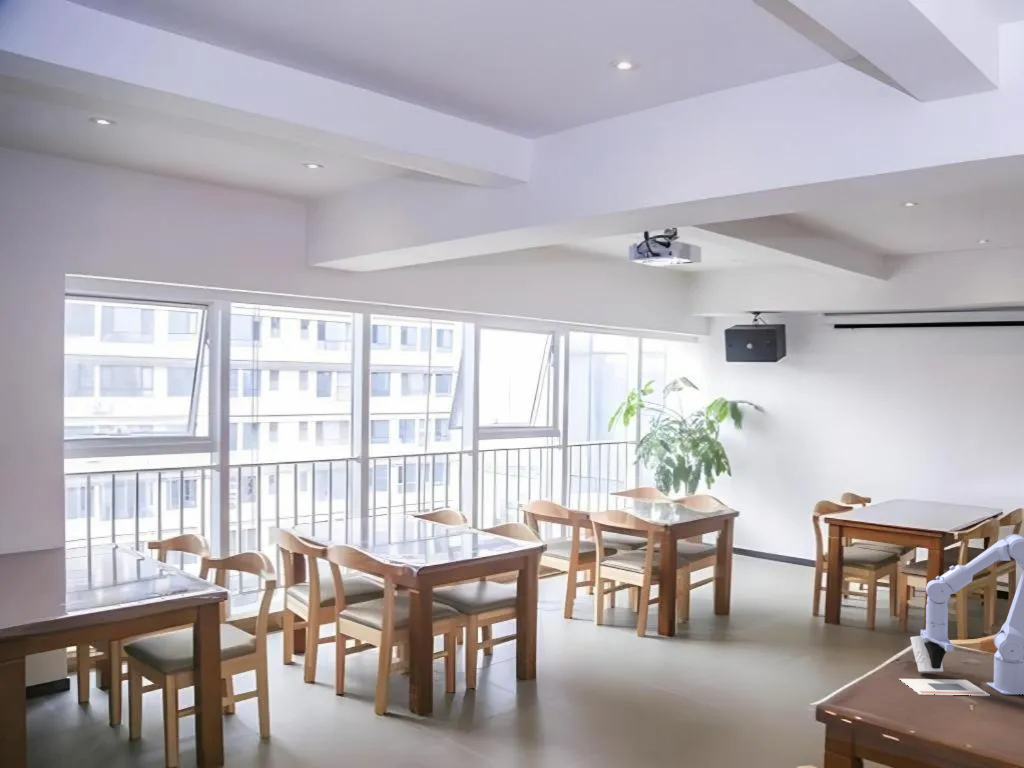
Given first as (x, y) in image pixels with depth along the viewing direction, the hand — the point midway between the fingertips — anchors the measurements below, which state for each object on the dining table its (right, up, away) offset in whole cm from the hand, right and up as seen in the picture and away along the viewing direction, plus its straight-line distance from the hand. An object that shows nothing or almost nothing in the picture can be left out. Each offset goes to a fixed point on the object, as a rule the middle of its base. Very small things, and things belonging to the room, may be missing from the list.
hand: (935, 668), depth 237 cm
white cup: (0, -2, +3) cm, 4 cm away
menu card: (-1, -3, -6) cm, 7 cm away
